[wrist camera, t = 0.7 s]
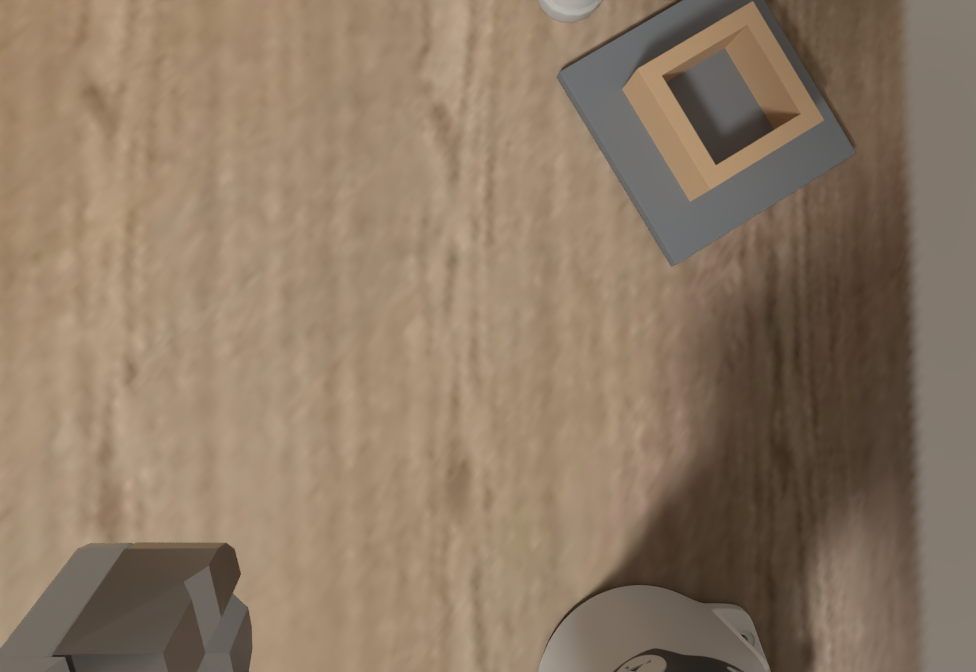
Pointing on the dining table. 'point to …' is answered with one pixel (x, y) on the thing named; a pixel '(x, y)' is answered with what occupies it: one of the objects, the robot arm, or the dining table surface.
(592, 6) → the bottle
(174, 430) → the dining table surface
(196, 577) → the robot arm
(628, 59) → the collar stand
